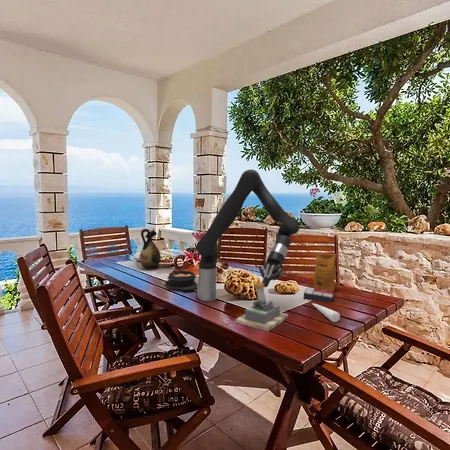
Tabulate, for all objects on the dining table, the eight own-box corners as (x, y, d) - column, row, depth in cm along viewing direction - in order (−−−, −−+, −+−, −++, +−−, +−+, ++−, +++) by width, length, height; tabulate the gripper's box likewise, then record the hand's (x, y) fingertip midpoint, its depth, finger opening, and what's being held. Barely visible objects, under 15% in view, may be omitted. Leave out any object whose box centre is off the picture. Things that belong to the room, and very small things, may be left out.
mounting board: (258, 309, 159) (258, 306, 159) (288, 317, 150) (288, 314, 150) (236, 322, 144) (236, 318, 144) (267, 331, 135) (267, 328, 134)
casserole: (157, 285, 198) (157, 272, 197) (181, 280, 211) (181, 267, 210) (181, 295, 180) (181, 280, 180) (207, 288, 193) (207, 274, 192)
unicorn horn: (319, 304, 168) (319, 295, 168) (340, 322, 145) (340, 312, 144) (310, 304, 168) (310, 295, 167) (330, 323, 144) (330, 312, 144)
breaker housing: (261, 309, 155) (261, 295, 155) (279, 314, 149) (280, 299, 149) (245, 318, 144) (245, 303, 143) (264, 324, 138) (264, 308, 138)
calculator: (333, 296, 169) (303, 291, 175) (332, 304, 170) (303, 299, 175) (334, 290, 179) (306, 286, 185) (333, 298, 180) (306, 293, 185)
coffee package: (315, 286, 200) (317, 250, 197) (336, 289, 194) (338, 252, 191) (311, 290, 191) (312, 253, 189) (332, 293, 185) (334, 255, 183)
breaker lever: (261, 304, 149) (256, 281, 144) (268, 305, 146) (264, 283, 142) (258, 307, 147) (253, 284, 142) (265, 309, 145) (261, 286, 140)
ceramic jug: (154, 265, 252) (154, 227, 249) (164, 269, 240) (164, 228, 237) (134, 268, 241) (133, 228, 238) (143, 272, 229) (142, 230, 226)
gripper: (262, 249, 156) (248, 279, 147) (287, 252, 148) (274, 284, 139) (268, 258, 161) (254, 288, 152) (292, 261, 153) (279, 293, 144)
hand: (264, 286), depth 146 cm, fingers closed
